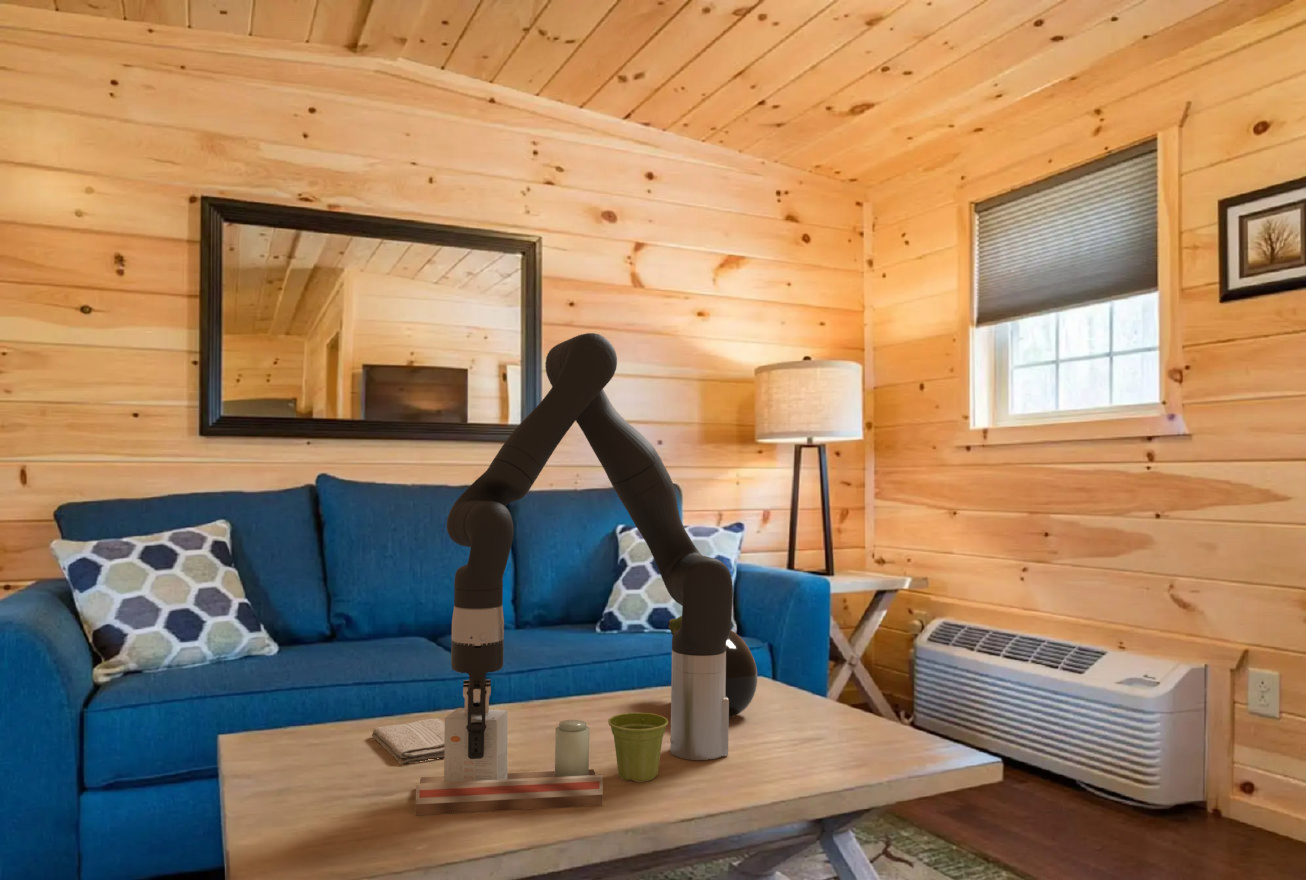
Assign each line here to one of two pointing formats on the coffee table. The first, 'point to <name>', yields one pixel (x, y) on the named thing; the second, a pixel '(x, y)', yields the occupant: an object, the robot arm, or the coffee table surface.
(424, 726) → the washcloth
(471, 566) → the robot arm
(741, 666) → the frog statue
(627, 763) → the plant pot
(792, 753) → the coffee table surface
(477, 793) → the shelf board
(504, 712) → the small box
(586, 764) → the sage jar
